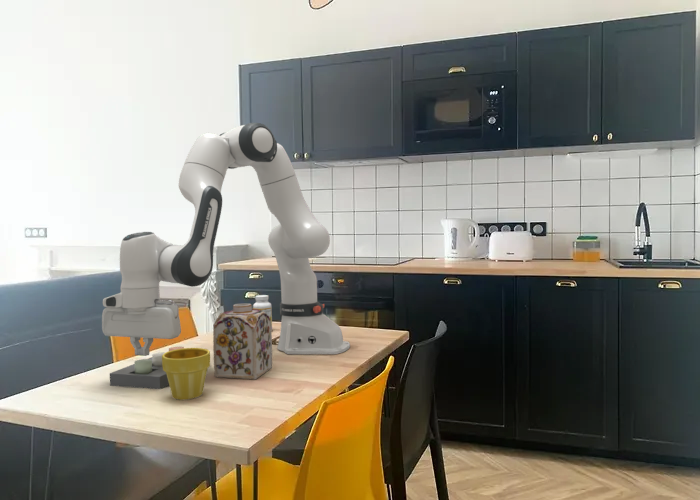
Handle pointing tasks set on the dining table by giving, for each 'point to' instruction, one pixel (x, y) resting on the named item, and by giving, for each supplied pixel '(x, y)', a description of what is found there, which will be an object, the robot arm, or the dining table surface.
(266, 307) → the supplement bottle
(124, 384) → the button console
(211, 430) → the dining table surface
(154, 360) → the ivory button
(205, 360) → the plant pot
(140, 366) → the sage button
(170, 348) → the terracotta button
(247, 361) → the decorative jar
